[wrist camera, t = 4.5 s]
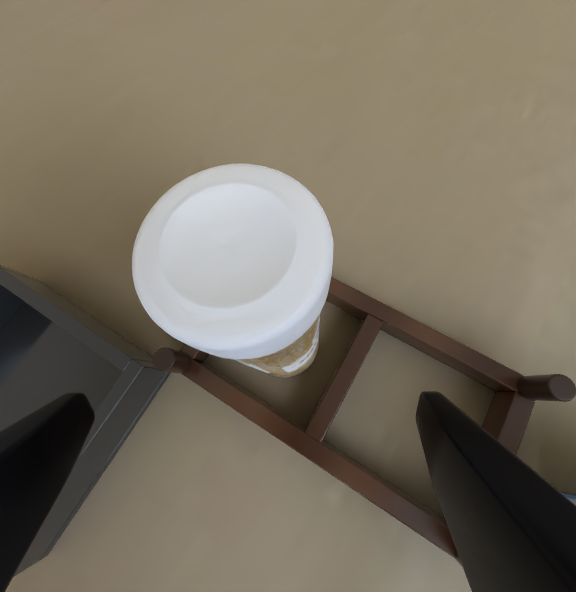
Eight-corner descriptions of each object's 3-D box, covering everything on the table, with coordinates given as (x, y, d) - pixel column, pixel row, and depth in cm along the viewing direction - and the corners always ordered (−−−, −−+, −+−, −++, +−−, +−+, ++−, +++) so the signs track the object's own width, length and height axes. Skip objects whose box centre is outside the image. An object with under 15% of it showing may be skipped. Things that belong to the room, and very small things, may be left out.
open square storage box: (172, 370, 19) (143, 366, 16) (47, 555, 16) (-20, 598, 13) (40, 280, 22) (-10, 260, 18) (-86, 427, 19) (-169, 435, 16)
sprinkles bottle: (327, 368, 18) (365, 317, 6) (255, 385, 18) (128, 376, 6) (308, 299, 20) (304, 134, 7) (242, 316, 20) (116, 180, 7)
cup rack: (521, 384, 17) (580, 382, 13) (457, 554, 15) (507, 610, 11) (260, 248, 21) (249, 217, 17) (180, 368, 19) (147, 363, 15)
